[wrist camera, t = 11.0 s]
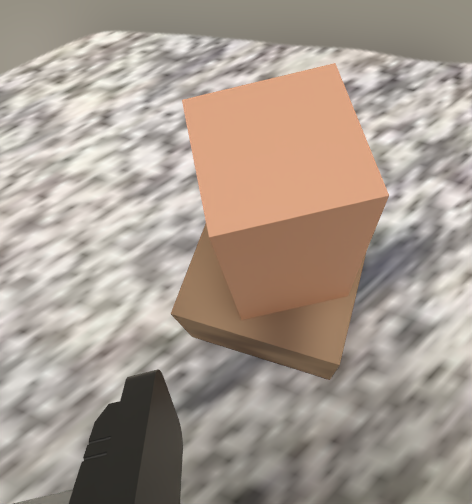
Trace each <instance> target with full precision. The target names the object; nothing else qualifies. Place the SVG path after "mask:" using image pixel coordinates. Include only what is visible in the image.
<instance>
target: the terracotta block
mask: <svg viewBox="0 0 472 504" xmlns="http://www.w3.org/2000/svg"><path fill="white" fill-rule="evenodd" d="M182 103H183V108H184V113H185V118H186V123H187V128H188V133H189V138H190V143H191V148H192V153H193V159H194V164H195V169H196V174H197V179H198V184H199V189H200V194H201V199H202V204H203V209H204V214H205V219H206V224H207V230H208V235H209V239H210V241H211V244H212V246H213V249H214V251H215V254H216V256H217V259H218V261H219V264H220V267H221V269H222V272H223V274H224V277H225V279H226V282H227V284H228V287H229V289H230V292H231V294H232V297H233V300H234V302H235V305H236V307H237V310H238V312H239V315H240V317H241V320H245V319H250V318H254V317H258V316H263V315H267V314H271V313H276V312H280V311H285V310H289V309H293V308H298V307H302V306H306V305H311V304H315V303H320V302H324V301H328V300H333V299H337V298H341V297H346V296H348V295H349V292H350V290H351V287H352V285H353V283H354V280H355V278H356V275H357V273H358V270H359V268H360V265H361V263H362V261H363V258H364V256H365V253H366V251H367V248H368V246H369V243H370V241H371V238H372V236H373V234H374V231H375V229H376V226H377V224H378V221H379V219H380V216H381V214H382V212H383V209H384V207H385V204H386V202H387V199H388V197H389V194H388V192H387V189H386V187H385V184H384V182H383V179H382V177H381V174H380V172H379V170H378V167H377V165H376V162H375V160H374V157H373V155H372V152H371V150H370V147H369V145H368V143H367V140H366V138H365V135H364V133H363V130H362V128H361V125H360V123H359V120H358V118H357V115H356V113H355V111H354V108H353V106H352V103H351V101H350V98H349V96H348V93H347V91H346V88H345V86H344V84H343V81H342V79H341V76H340V74H339V71H338V69H337V66H336V64H335V63H334V64H330V65H326V66H321V67H317V68H313V69H309V70H305V71H301V72H296V73H292V74H288V75H284V76H280V77H276V78H271V79H267V80H263V81H259V82H255V83H251V84H246V85H242V86H238V87H234V88H230V89H226V90H221V91H217V92H213V93H209V94H205V95H201V96H196V97H192V98H188V99H184V100H182Z"/></svg>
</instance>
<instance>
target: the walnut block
mask: <svg viewBox="0 0 472 504" xmlns="http://www.w3.org/2000/svg"><path fill="white" fill-rule="evenodd" d="M365 255H366V253H365ZM364 259H365V256H364V258H363V261H362V263H361V265H360V268H359V270H358V273H357V275H356V278H355V280H354V283H353V285H352V287H351V290H350V292H349V295H348V296H346V297H341V298H337V299H333V300H328V301H324V302H320V303H315V304H311V305H306V306H302V307H298V308H293V309H289V310H285V311H280V312H276V313H271V314H267V315H263V316H258V317H254V318H250V319H245V320H241V317H240V315H239V312H238V310H237V307H236V305H235V302H234V300H233V297H232V294H231V292H230V289H229V287H228V284H227V282H226V279H225V277H224V274H223V272H222V269H221V267H220V264H219V261H218V259H217V256H216V254H215V251H214V249H213V246H212V244H211V241H210V239H209V235H208V230H207V224H205V227H204V229H203V232H202V234H201V237H200V240H199V242H198V245H197V247H196V250H195V252H194V255H193V258H192V260H191V263H190V265H189V268H188V270H187V273H186V276H185V278H184V281H183V283H182V286H181V288H180V291H179V294H178V296H177V299H176V301H175V304H174V307H173V309H172V312H171V315H172V316H173V317H174V318H175V319H176V320H177V321H178V322H179V323H180V324H181V325H182V326H183V328H184V329H185V330H186V331H187V332H188V333H189V334H190V335H191V336H192V337H194V338H198V339H201V340H204V341H207V342H210V343H214V344H217V345H220V346H223V347H226V348H230V349H233V350H236V351H239V352H242V353H246V354H249V355H252V356H255V357H258V358H261V359H265V360H268V361H271V362H274V363H277V364H281V365H284V366H287V367H290V368H293V369H297V370H300V371H303V372H306V373H309V374H313V375H316V376H319V377H322V378H325V379H328V380H330V379H331V377H332V376H333V374H334V373H335V371H336V370H337V368H338V367H339V365H340V361H341V357H342V353H343V348H344V344H345V340H346V336H347V331H348V327H349V323H350V319H351V315H352V310H353V306H354V302H355V298H356V293H357V289H358V285H359V281H360V276H361V272H362V268H363V264H364Z"/></svg>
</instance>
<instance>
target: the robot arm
mask: <svg viewBox="0 0 472 504" xmlns="http://www.w3.org/2000/svg"><path fill="white" fill-rule="evenodd" d="M182 454H183V440H182V432H181V427H180V423H179V419H178V416H177V414H176V411H175V408H174V405H173V402H172V400H171V397H170V394H169V391H168V388H167V386H166V383H165V380H164V377H163V375H162V373H161V371H160V370H154V371H150V372H146V373H142V374H138V375H134V376H130V377H127V379H126V382H125V385H124V389H123V393H122V397H121V401H119V402H115V403H111V404H108V406H107V407H106V408H105V410H104V411H103V412H102V413H101V415H100V416H99V417H98V419H97V420H96V421H95V423H94V426H93V429H92V432H91V435H90V438H89V445H87V448H86V451H85V454H84V457H83V458H84V461H83V462H82V463H81V466H80V470H79V473H78V476H77V479H76V482H75V485H74V488H73V491H72V494H71V497H70V501H69V504H180V491H181V473H182Z"/></svg>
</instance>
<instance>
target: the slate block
mask: <svg viewBox="0 0 472 504" xmlns="http://www.w3.org/2000/svg"><path fill="white" fill-rule="evenodd" d="M72 491H73V490H70V491H66V492H61V493H57V494H53V495H48V496H44V497H40V498H35V499H31V500H27V501H22V502H18V503H14V504H69V501H70V497H71V494H72Z"/></svg>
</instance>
